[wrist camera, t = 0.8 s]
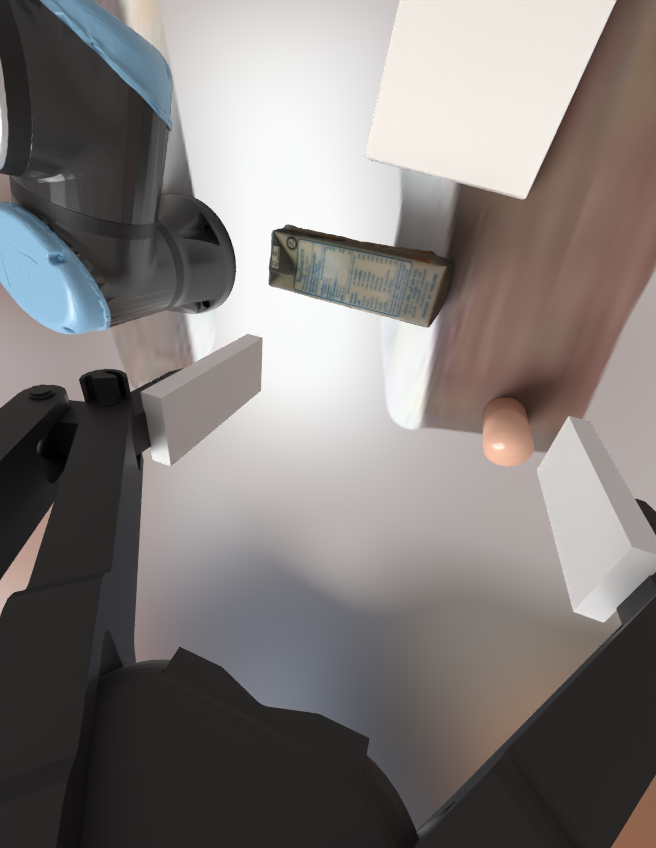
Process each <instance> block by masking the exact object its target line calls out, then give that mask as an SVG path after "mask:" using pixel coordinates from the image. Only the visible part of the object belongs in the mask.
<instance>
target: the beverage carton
mask: <svg viewBox="0 0 656 848" xmlns="http://www.w3.org/2000/svg"><path fill="white" fill-rule="evenodd" d="M271 235H272V239H271V257H270V263H269V285H270V286H273V287H277V288H281V289H284V290H288V291H292V292H295V293H298V294H302V295H305V296H309V297H312V298H316V299H320V300H324V301H327V302H331V303H335V304H339V305H343V306H347V307H350V308H354V309H358V310H362V311H366V312H370V313H374V314H378V315H381V316H386V317H390V318H393V319H397V320H400V321H404V322H407V323H411V324H415V325H419V326H423V327H430V325H431V324H432V322H433V321H434V319H435V318H436V317H437V315H438V314H439V312H440V310H441V308H442V306H443V304H444V301H445V299H446V296H447V293H448V290H449V286H450V282H451V277H452V272H453V267H454V261H453V260H448V259H446V258H442V257H439V256H437V255H436V254H435V253H434V252H432V251H421V250H415V249H408V248H401V247H393V246H387V245H381V244H375V243H370V242H360V241H357V240H352V239H349V238H346V237H342V236H336V235H331V234H326V233H322V232H316V231H312V230H308V229H302V228H297V227H295V226H292V225H285V227H284V228H282V229H277V230H274V231H273V232H272V234H271Z"/></svg>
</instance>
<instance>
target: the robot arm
mask: <svg viewBox="0 0 656 848" xmlns="http://www.w3.org/2000/svg"><path fill="white" fill-rule="evenodd" d="M171 99H172V75H171V71H170V69H169V66H168V64H167V62H166V60H165V59H164V57H163V56H162V55H161V53H160V52H159V51H158V50H157V49H156V48H155V47H154V46H153V45H151V44H150V43H149V42H148V41H147V40H145V39H144V38H143V37H142V36H140V35H139V34H138V33H136V32H135V31H134V30H133V29H131V28H130V27H129V26H127V25H126V24H125V23H123V22H122V21H121V20H119V19H118V18H116V17H115V16H114V15H112V14H111V13H110V12H108V11H107V10H105V9H104V8H103V7H101V6H100V5H98V4H97V3H96V2H94V1H93V0H0V173H2V174H6V175H9V176H10V186H11V197H12V203H9V202H0V281H1V283H2V285H3V286H4V287H5V289H6V290H7V291H8V292H9V294H10V295H11V296H12V298H13V299H14V300H15V301H16V302H17V303H18V304H19V305H20V307H21V308H22V309H24V311H26V312H27V313H28V314H29V315H30V316H32V317H33V318H34V319H35V320H37V321H38V322H39V323H41V324H43V325H44V326H46V327H48V328H50V329H52V330H54V331H57V332H61V333H64V334H80V333H85V332H89V331H94V330H97V331H101V330H104V329H107V328H109V327H112V326H116V325H119V324H122V323H125V322H129V321H132V320H135V319H138V318H141V317H145V316H148V315H151V314H154V313H157V312H160V311H164V310H168V311H175V312H181V313H188V314H199V313H204V312H207V311H210V310H213V309H215V308H217V307H219V306H220V305H222V304H223V303H224V302H225V301H226V299H227V298H228V297H229V295H230V293H231V291H232V288H233V286H234V282H235V276H236V259H235V253H234V248H233V245H232V242H231V239H230V236H229V234H228V232H227V230H226V228H225V226H224V224H223V223H222V221H221V220H220V218H219V217H218V216H217V215H216V213H214V211H213V210H212V209H211V208H210V207H208V206H207V205H206V204H205V203H203V202H202V201H200V200H198V199H196V198H193V197H190V196H187V195H179V194H165V195H161V192H162V184H163V175H164V167H165V159H166V151H167V142H168V134H169V131H171V129H172V123H171V121H170V112H171ZM261 366H262V338H261V337H257V336H253V335H249V334H247V335H245V336H243V337H241V338H240V339H238V340H236V341H234V342H232V343H231V344H228V345H227V346H225V347H223V348H221V349H219V350H217V351H215V352H214V353H212V354H210V355H208V356H206V357H204V358H202V359H201V360H199V361H197V362H195V363H193V364H191V365H189V366H188V367H186V368H184V369H183V368H182V369H178V370H174V371H170V372H168V373H166V374H164V375H162V376H160V378H157V379H155V380H153V381H152V382H149V383H147V384H145V385H143V386H141V387H140V388H138V389H136V390H134V391H132V392H130V388H129V383H128V378H127V375H126V373H124V372H122V371H119V370H115V369H103V370H95V371H92V372H88V373H86V374H84V375H82V376H81V377H80V379H79V381H80V384H81V388H82V392H83V395H84V399H85V402H82V401H72V400H69V399H68V395H67V392H66V390H65V388H62V387H61V386H56V385H39V386H38V385H37V386H33V387H31V388H28V389H26V390H23V391H22V392H20V393H18V394H17V395H16V396H15V397H13V398H12V399H11V400H10V401H9V402H7V403H6V404H5V405H4V406H3V407H1V408H0V580H1V578H2V577H3V575H4V574H5V572H6V571H7V569H8V568H9V566H10V565H11V563H12V562H13V561H14V559H15V558H16V556H17V555H18V553H19V552H20V550H21V549H22V547H23V546H24V545H25V543H26V542H27V540H28V539H29V537H30V536H31V535H32V533H33V532H34V530H35V529H36V527H37V526H38V524H39V523H40V521H41V520H42V519H43V517H44V516H45V514H46V513H47V511H48V510H49V508H50V507H51V505H52V504H53V502H54V504H53V507H52V511H51V514H50V517H49V520H48V524H47V527H46V530H45V533H44V536H43V539H42V543H41V546H40V549H39V552H38V555H37V559H36V562H35V565H34V568H33V571H32V574H31V578H30V581H29V584H28V586H27V588H26V589H25V590H23V591H18V592H14V593H13V594H12V595H11V596H10V597H9V598H8V599H7V601H6V603H5V606H4V608H3V610H2V613H1V616H0V848H611V847H612V845H613V843H614V842H615V840H616V838H617V837H618V835H619V834H620V832H621V830H622V829H623V827H624V825H625V824H626V822H627V820H628V819H629V817H630V816H631V814H632V812H633V811H634V809H635V807H636V806H637V804H638V803H639V801H640V799H641V798H642V796H643V794H644V793H645V791H646V790H647V788H648V786H649V785H650V783H651V781H652V780H653V778H654V777H655V775H656V511H654V510H653V509H652V508H651V507H650V506H649V505H648V504H647V503H646V502H644V501H642V500H638V499H635V498H634V497H633V495H632V493H631V492H630V490H629V488H628V486H627V485H626V483H625V481H624V479H623V478H622V476H621V474H620V473H619V471H618V469H617V467H616V466H615V464H614V462H613V460H612V459H611V457H610V455H609V454H608V452H607V450H606V448H605V447H604V445H603V443H602V441H601V440H600V438H599V436H598V434H597V433H596V431H595V429H594V427H593V426H592V424H591V422H590V421H586V420H582V419H578V418H574V417H570V416H568V418H567V420H566V421H565V423H564V425H563V426H562V428H561V430H560V432H559V433H558V435H557V437H556V438H555V440H554V442H553V444H552V445H551V447H550V449H549V450H548V452H547V454H546V456H545V457H544V459H543V461H542V463H541V464H540V466H539V468H538V469H537V473H538V477H539V481H540V484H541V488H542V493H543V497H544V501H545V504H546V508H547V512H548V516H549V520H550V523H551V528H552V531H553V535H554V539H555V543H556V547H557V551H558V555H559V558H560V562H561V566H562V570H563V574H564V578H565V582H566V586H567V589H568V593H569V597H570V601H571V605H572V609H573V612H576V613H579V614H581V615H584V616H587V617H590V618H593V619H595V620H598V621H601V622H603V623H604V622H605V621H606V620H607V619H608V618H609V617H610V616H611V615H612V614H613V613H614V612H615V611H616V610H617V612H618V614H619V617H620V620H621V622H622V625H621V626H620V627H619V628H618V629H617V630H616V631H615V632H614V633H612V634H611V635H610V636H609V637H608V638H607V639H606V640H605V641H604V642H603V643H602V644H601V645H599V646H600V647H599V648H598V649H597V650H596V651H595V652H594V653H593V654H592V655H591V656H590V657H589V658H588V659H587V660H586V661H585V662H584V663H583V664H582V665H581V666H580V667H579V668H578V669H577V670H576V671H575V672H574V673H573V674H572V675H571V676H570V677H569V678H568V679H567V680H566V681H565V682H564V683H563V684H562V685H561V686H560V687H559V688H558V689H557V690H556V692H554V693H553V694H552V695H551V696H550V697H549V698H548V699H547V700H546V701H545V702H544V704H542V705H541V707H540V708H538V709H537V710H536V712H535V713H534V714H533V715H532V716H531V717H530V718H529V719H528V720H527V721H526V722H525V723H524V724H523V725H522V726H521V727H520V728H519V729H518V730H517V731H516V732H515V733H514V734H513V735H512V736H511V737H510V738H509V739H508V740H507V741H506V742H505V743H504V744H503V745H502V746H501V747H500V748H499V749H498V750H497V751H496V752H495V753H494V754H493V755H492V756H491V757H490V758H489V759H488V760H487V761H486V762H485V763H484V764H483V765H482V766H481V767H480V768H479V769H478V770H477V771H476V772H475V773H474V774H473V775H472V776H471V777H470V778H469V779H468V780H467V781H466V782H465V783H464V784H463V785H462V786H461V787H460V788H459V789H458V790H457V791H456V792H455V793H454V794H453V795H452V796H451V797H450V798H449V799H448V800H447V801H446V802H445V803H444V804H443V805H442V806H441V807H440V808H439V809H438V810H437V811H436V812H435V813H434V814H433V815H432V816H431V817H429V819H427V820H426V821H425V823H423V824H422V825H421V826H420V827H419V828H418V829H417V830H416V829H415V827H414V824H413V822H412V820H411V818H410V815H409V813H408V811H407V809H406V807H405V805H404V803H403V802H402V799H401V798H400V796H399V794H398V792H397V791H396V789H395V788H394V786H393V785H392V783H391V782H390V780H389V779H388V777H387V776H386V775H385V774H384V772H383V771H382V770H381V769H380V768H379V767H378V765H377V764H376V763H375V762H374V761H373V760H372V759H371V758H369V757H368V756H367V755H366V754H367V748H368V743H369V738H367V737H366V736H364V735H361V734H359V733H357V732H355V731H353V730H351V729H349V728H347V727H345V726H343V725H341V724H339V723H337V722H334V721H332V720H330V719H328V718H326V717H324V716H322V715H320V714H316V713H309V712H302V711H295V710H288V709H280V708H273V707H267V706H264V705H262V704H260V703H259V702H257V701H256V700H255V699H254V698H253V697H252V696H251V695H250V694H249V693H248V692H247V691H246V690H245V689H244V688H243V687H242V686H241V685H240V684H239V683H238V682H237V681H236V680H235V679H234V678H233V677H232V676H230V674H229V673H228V672H227V671H225V670H224V669H223V668H222V667H221V666H218V665H216V664H214V663H212V662H210V661H208V660H206V659H204V658H202V657H200V656H198V655H196V654H194V653H192V652H190V651H187V650H185V649H183V648H181V647H179V649H178V650H177V652H176V653H175V655H174V656H173V658H172V659H171V660H149V661H142V662H138V663H136V658H135V649H134V628H135V609H136V591H137V573H138V572H137V571H138V553H139V535H140V517H141V516H140V515H141V498H142V479H143V455H142V452H143V451H145V450H146V449H147V448H149V447H150V448H151V454H152V459H153V460H154V461H157V462H160V463H163V464H166V465H168V466H172V465H173V464H174V463H175V462H176V461H178V460H179V459H180V458H181V457H183V456H184V455H185V454H186V453H187V452H188V451H190V450H191V449H192V448H193V447H194V446H196V445H197V444H198V443H199V442H200V441H201V440H203V439H204V438H205V437H206V436H207V435H209V434H210V433H211V432H212V431H213V430H215V429H216V428H217V427H218V426H219V425H220V424H222V423H223V422H224V421H225V420H226V419H228V418H229V417H230V416H231V415H232V414H234V413H235V412H236V411H237V410H238V409H239V408H241V407H242V406H243V405H244V404H245V403H247V402H248V401H249V400H250V399H251V398H253V396H255V395H256V394H257V393H258V392H260V391H261V368H262V367H261Z"/></svg>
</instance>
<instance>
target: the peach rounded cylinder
mask: <svg viewBox="0 0 656 848" xmlns="http://www.w3.org/2000/svg"><path fill="white" fill-rule="evenodd" d="M483 450H484V453H485V455H486V457H487V458H488V459H489V460H490V461H492V462H493V463H496V464H498V465H501V466H515V465H519V464H521V463H524V462H525V461H527V460H528V459H529V458H530V457H531V455H532V453H533V450H534V443H533V439H532V435H531V431H530V427H529V422H528V418H527V414H526V410H525V408H524V406H523V404H522V403H521V402H519V401H518V400H516V399H513V398H509V397H501V398H497V399H494V400H492V401H491V402H489V403H488V404H487V405H486V407H485V408H484V411H483Z"/></svg>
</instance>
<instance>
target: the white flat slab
mask: <svg viewBox="0 0 656 848" xmlns="http://www.w3.org/2000/svg"><path fill="white" fill-rule="evenodd" d="M615 2H616V0H399V4H398V9H397V13H396V18H395V22H394V27H393V31H392V36H391V40H390V44H389V49H388V53H387V58H386V62H385V66H384V71H383V76H382V79H381V84H380V88H379V93H378V97H377V102H376V106H375V110H374V115H373V119H372V124H371V128H370V132H369V137H368V141H367V146H366V150H365V154H364V156H365V157H366V158H368V159H370V160H372V161H376V162H380V163H384V164H387V165H391V166H395V167H399V168H403V169H406V170H410V171H414V172H418V173H422V174H426V175H430V176H434V177H437V178H441V179H445V180H449V181H453V182H457V183H461V184H464V185H468V186H472V187H476V188H480V189H484V190H488V191H492V192H495V193H499V194H503V195H507V196H511V197H515V198H519V199H522V200H523V199H525V198H526V197H527V195H528V193H529V190H530V188H531V186H532V184H533V182H534V179H535V177H536V175H537V173H538V171H539V168H540V166H541V164H542V162H543V160H544V157H545V155H546V153H547V151H548V149H549V147H550V144H551V142H552V140H553V138H554V136H555V133H556V131H557V129H558V127H559V125H560V122H561V120H562V118H563V116H564V114H565V112H566V109H567V107H568V105H569V103H570V101H571V98H572V96H573V94H574V92H575V90H576V87H577V85H578V83H579V81H580V79H581V77H582V74H583V72H584V70H585V68H586V66H587V63H588V61H589V59H590V57H591V55H592V52H593V50H594V48H595V46H596V44H597V42H598V39H599V37H600V35H601V33H602V31H603V28H604V26H605V24H606V22H607V20H608V17H609V15H610V13H611V11H612V9H613V7H614V4H615Z"/></svg>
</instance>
